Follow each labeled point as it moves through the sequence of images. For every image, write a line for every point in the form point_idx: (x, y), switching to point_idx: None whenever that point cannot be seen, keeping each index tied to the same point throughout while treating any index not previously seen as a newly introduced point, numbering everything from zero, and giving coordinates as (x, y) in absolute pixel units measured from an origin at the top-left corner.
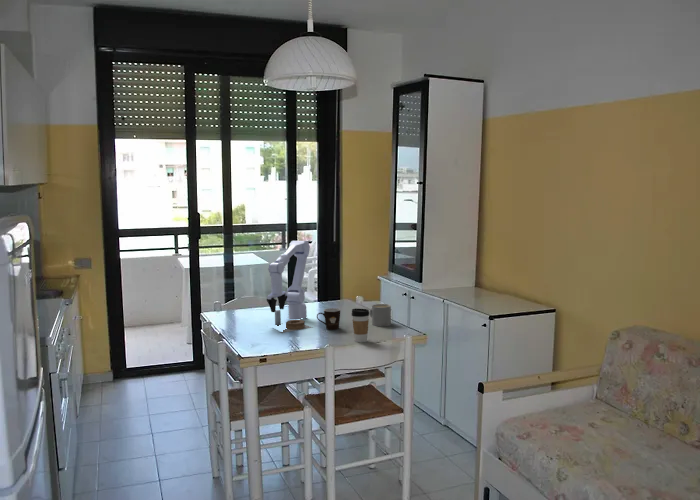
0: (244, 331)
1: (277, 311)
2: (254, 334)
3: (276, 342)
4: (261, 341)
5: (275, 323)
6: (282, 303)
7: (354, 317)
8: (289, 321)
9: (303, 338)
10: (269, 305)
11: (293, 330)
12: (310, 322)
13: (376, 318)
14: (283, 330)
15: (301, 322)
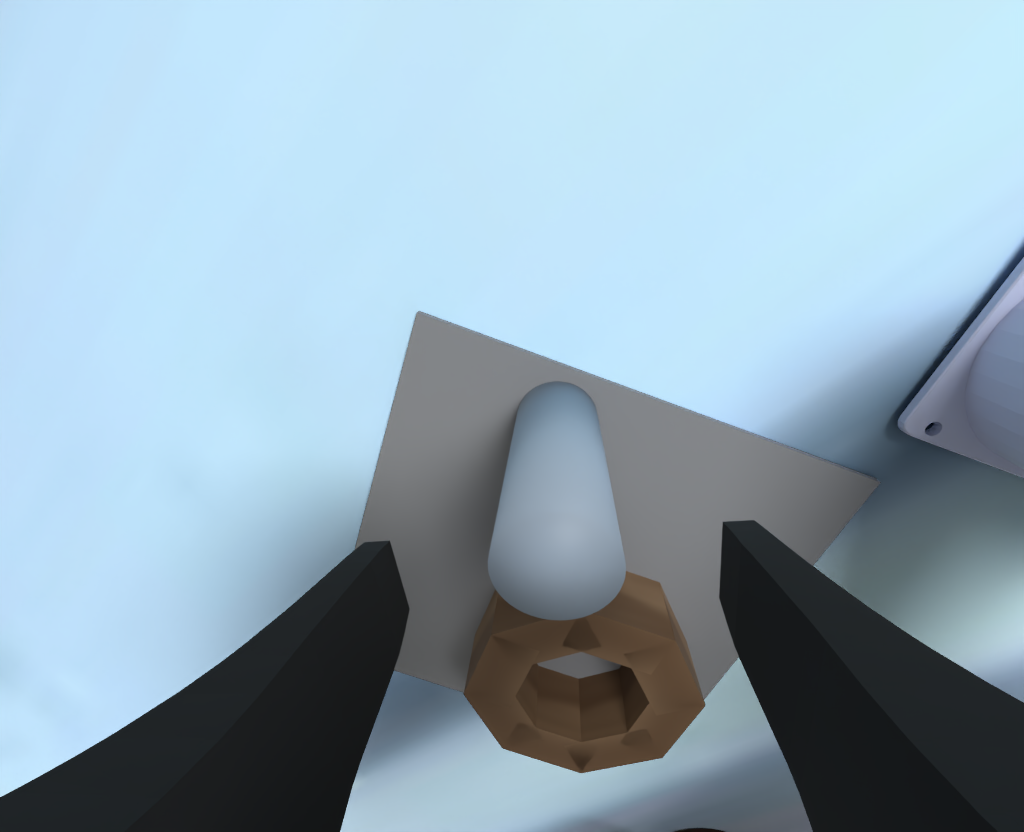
0: (53, 230)
1: (506, 593)
2: (99, 452)
3: None
4: (50, 648)
5: (516, 419)
6: (800, 739)
7: None
8: (555, 643)
9: (344, 815)
10: (222, 668)
11: (462, 682)
12: None
13: None
14: None
15: (584, 760)
